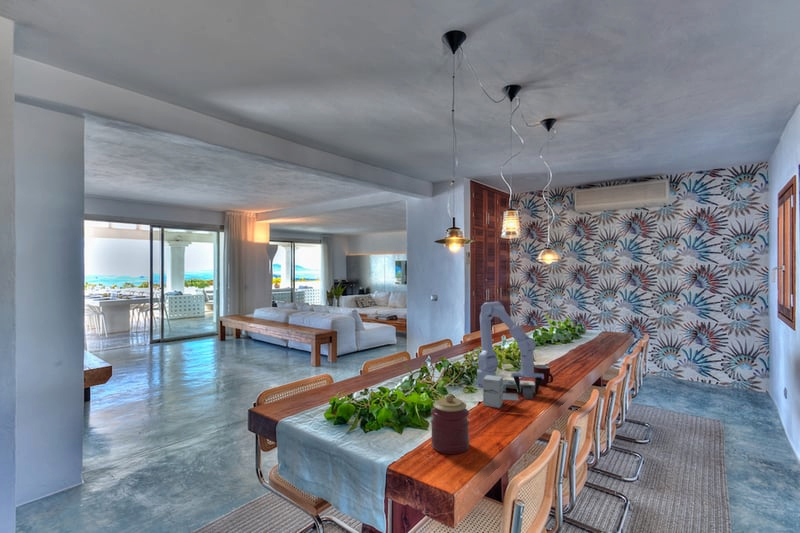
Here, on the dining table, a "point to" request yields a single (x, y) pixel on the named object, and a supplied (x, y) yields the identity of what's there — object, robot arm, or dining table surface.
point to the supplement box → (492, 391)
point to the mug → (543, 370)
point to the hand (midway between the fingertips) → (527, 393)
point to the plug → (527, 393)
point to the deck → (510, 396)
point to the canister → (450, 426)
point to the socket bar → (522, 385)
